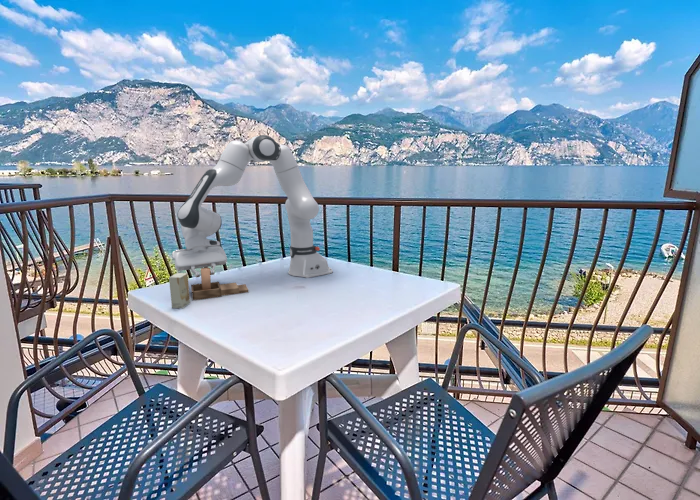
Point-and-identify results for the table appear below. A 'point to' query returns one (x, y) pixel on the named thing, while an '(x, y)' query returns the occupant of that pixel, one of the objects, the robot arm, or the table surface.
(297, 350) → the table surface
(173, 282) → the skincare box
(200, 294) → the wooden desk organizer
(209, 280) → the wooden block
